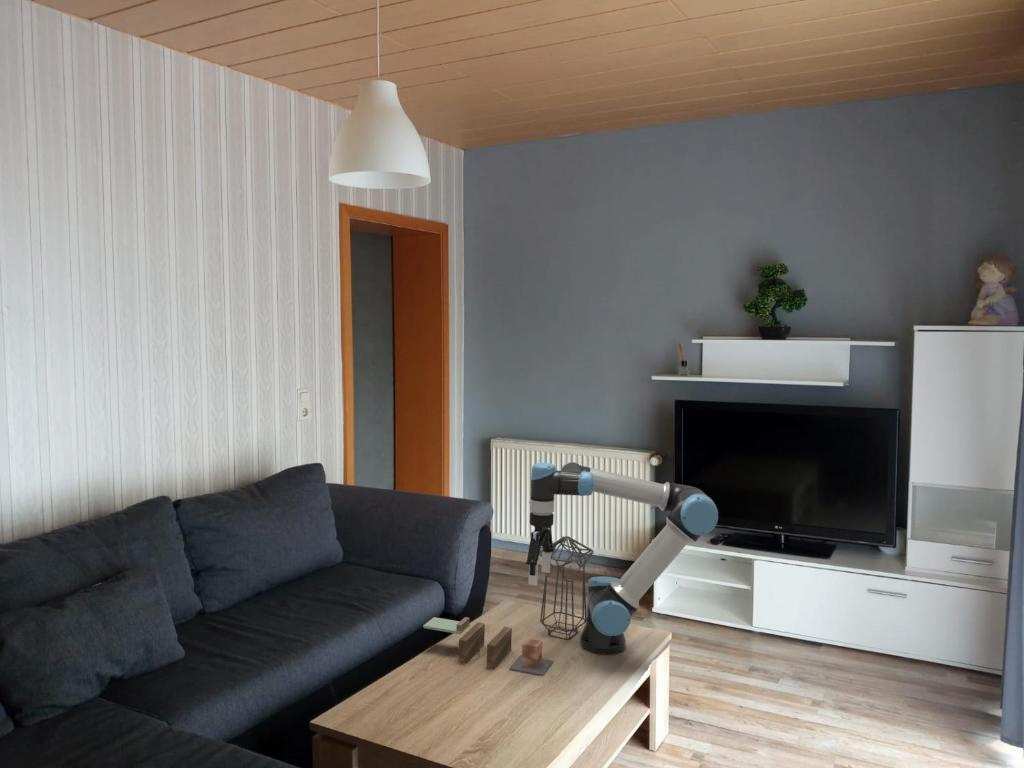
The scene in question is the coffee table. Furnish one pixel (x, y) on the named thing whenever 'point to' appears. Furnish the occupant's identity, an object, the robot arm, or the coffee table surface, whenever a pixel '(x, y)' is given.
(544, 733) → the coffee table surface
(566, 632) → the geometric lantern
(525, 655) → the block
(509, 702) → the coffee table surface
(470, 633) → the brown parallel walls
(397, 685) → the coffee table surface
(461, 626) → the cover
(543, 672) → the mat
